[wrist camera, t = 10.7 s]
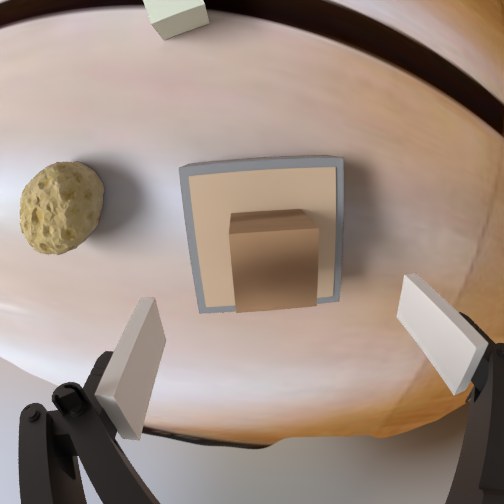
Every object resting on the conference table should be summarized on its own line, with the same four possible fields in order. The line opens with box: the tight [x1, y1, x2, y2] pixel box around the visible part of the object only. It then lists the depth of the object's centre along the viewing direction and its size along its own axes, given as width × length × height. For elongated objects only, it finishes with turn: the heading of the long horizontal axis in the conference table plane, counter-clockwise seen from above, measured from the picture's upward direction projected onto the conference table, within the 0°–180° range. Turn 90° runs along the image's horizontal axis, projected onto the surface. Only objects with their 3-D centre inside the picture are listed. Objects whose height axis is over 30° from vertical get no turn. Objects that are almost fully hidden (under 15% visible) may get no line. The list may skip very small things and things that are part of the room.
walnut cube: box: [229, 209, 319, 313], centre depth 23 cm, size 6×6×6 cm
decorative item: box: [20, 162, 104, 255], centre depth 26 cm, size 10×10×10 cm
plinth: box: [179, 155, 344, 314], centre depth 28 cm, size 14×14×5 cm
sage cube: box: [143, 0, 210, 40], centre depth 20 cm, size 5×5×5 cm
